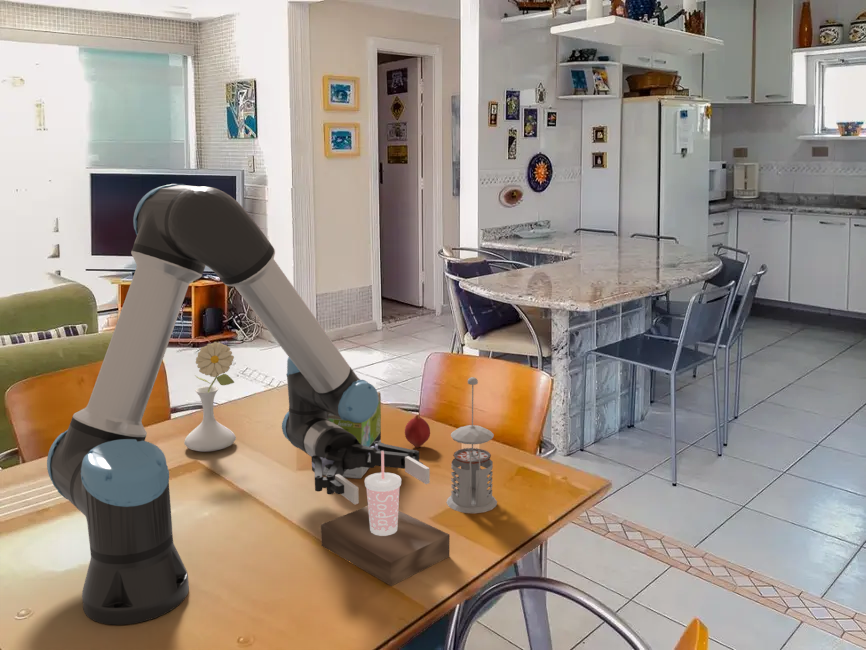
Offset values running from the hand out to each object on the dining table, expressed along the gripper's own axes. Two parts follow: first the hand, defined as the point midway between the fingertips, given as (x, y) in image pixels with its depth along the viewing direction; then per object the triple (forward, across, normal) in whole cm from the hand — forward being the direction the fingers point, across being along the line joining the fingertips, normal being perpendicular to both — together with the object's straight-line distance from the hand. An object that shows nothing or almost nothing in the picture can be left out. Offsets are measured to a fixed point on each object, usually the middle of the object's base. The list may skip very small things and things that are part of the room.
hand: (393, 485), depth 129 cm
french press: (-9, -23, -13) cm, 28 cm away
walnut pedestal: (-3, 0, -13) cm, 13 cm away
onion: (-40, -31, -13) cm, 52 cm away
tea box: (-40, -14, -13) cm, 44 cm away
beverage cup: (-3, 0, -9) cm, 10 cm away
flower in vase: (-67, +7, -13) cm, 69 cm away
